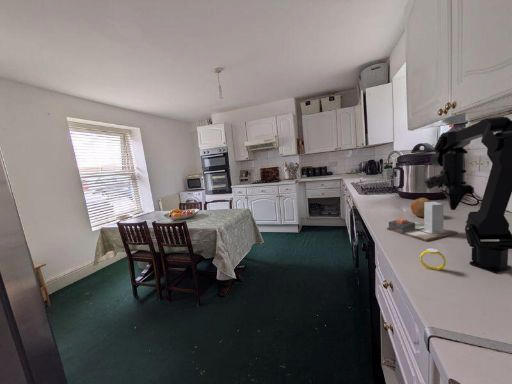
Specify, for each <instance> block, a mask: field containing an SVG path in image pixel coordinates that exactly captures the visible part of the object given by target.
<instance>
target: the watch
mask: <svg viewBox="0 0 512 384" xmlns="http://www.w3.org/2000/svg"><path fill="white" fill-rule="evenodd" d="M426 254H430V255H438V256H440V257H441V258H442V260H443V262H442V264H441V265H440V266H432V265H427V264H426V263H425V262H424V260H423V256H425V255H426ZM419 259H420V263H421V265H422V266H423V267H425V268H426V269H430V270H435V271H440V270H442V269H444V268H445V267H446V264H447V263H446V257H445V256H444V254H443V253H441V252H440V251H439V250H438V249H436V248H431V247H430V248H427V249H426V250H424V251H423V252H421V254H420V257H419Z"/></svg>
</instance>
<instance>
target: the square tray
mask: <svg viewBox="0 0 512 384" xmlns="http://www.w3.org/2000/svg"><path fill="white" fill-rule="evenodd" d="M386 230H388V231H392V232H395V233H397V234H400V235H404V236H406V237H410V238H413V239H417V240H419V241H422V242H425V243H426V242H430V241H434V240H437V239H442V238H446V237H451V236H455V235H458V234H459V233H458V231H455V230H452V229H447V228H444V227H443V233H431V232H429V231H427V230H426V229H424V222H417V221H411V220H410V221H409V220H407V223H405V224H400V223H396V219H395V220H392V221H388V227H386Z"/></svg>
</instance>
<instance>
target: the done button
mask: <svg viewBox="0 0 512 384" xmlns="http://www.w3.org/2000/svg"><path fill="white" fill-rule="evenodd" d="M395 220H396V223H400V224H405V223H407V221H408V219H405V218H402V217H401V218H396V219H395Z"/></svg>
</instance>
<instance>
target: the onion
mask: <svg viewBox="0 0 512 384" xmlns="http://www.w3.org/2000/svg"><path fill="white" fill-rule="evenodd" d="M424 202H432V201H431V200H430V199H428V198H426V197H420V198H416V199H414V200H413V201H412V202H411V204H410V209H411V210H410V211H411V213H412V214H413V215H414V216H416V217H419V218H424Z"/></svg>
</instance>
